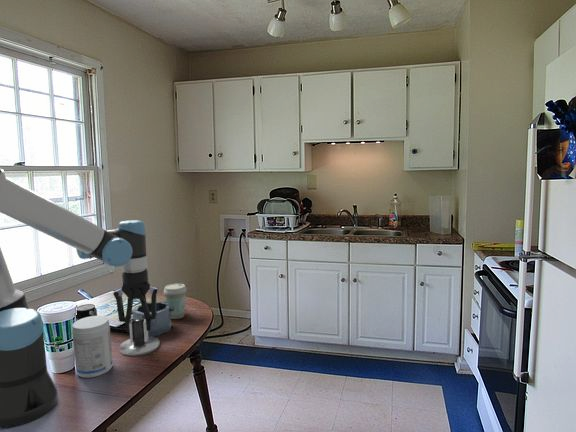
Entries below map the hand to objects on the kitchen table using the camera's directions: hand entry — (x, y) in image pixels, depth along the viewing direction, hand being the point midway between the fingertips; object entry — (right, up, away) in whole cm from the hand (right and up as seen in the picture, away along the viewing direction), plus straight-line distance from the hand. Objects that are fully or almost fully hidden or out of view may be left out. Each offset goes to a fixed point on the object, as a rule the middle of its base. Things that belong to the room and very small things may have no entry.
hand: (139, 340), depth 129 cm
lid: (0, -2, 0) cm, 2 cm away
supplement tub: (-8, -4, -14) cm, 17 cm away
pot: (0, 0, +14) cm, 14 cm away
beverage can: (-19, -2, +5) cm, 20 cm away
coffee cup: (+5, +1, +26) cm, 27 cm away
